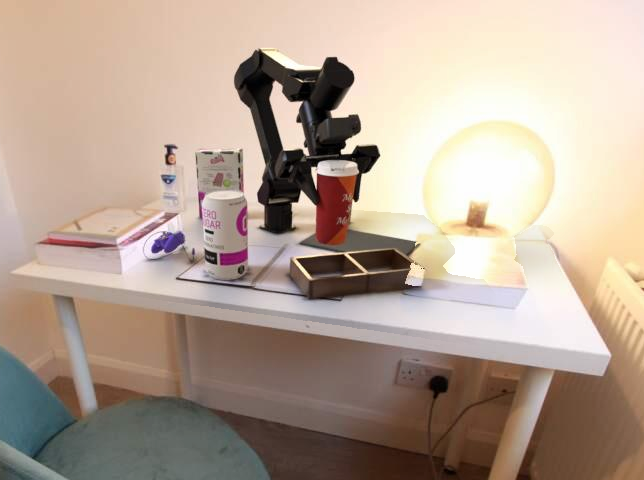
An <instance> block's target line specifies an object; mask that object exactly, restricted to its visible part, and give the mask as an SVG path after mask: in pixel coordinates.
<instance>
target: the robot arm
mask: <svg viewBox="0 0 644 480" xmlns="http://www.w3.org/2000/svg"><path fill="white" fill-rule="evenodd" d="M324 59H325V60H324V61H323V64H322V67H318V66H312V65H301V64H299V63H296V62H295V61H293V60H292V59H290V58H289V57H287V56H286V55H284V54H282V53H280V51H279V50H278V49H276V48H274V47H260V48H259V47H258V48H257V49H255V50H253V53H252V54H251V56H249V57H248V58H246V59H245V60H243V62H241V63H240V64H239V65H238V67H237V69H236V71H235V73H234V76H233V85H234V89H235V90H236V92H237V95H238V98H239V100H240V102H242V103H243V105H245V106H246V107H247V108H248V109H249V110H250V114H251V118H252V121H253V125H254V129H255V132H256V135H257V139H258V143H259V147H260V151H261V154H262V158H263V160H264V165H265V167H264V171H263V172H262V176H261V180H262V182H261V185H260V186H259V189H258V190H257V191H256V197H257V202H258V203H259V204H260V205H262V206H263V207H264V209H263V210H264V212H263V215H264V216H263V217H264V219H263V224H259V228H260V229H262V230H264V231H268V232H271V233H273V234H280V233H284V232H288V231H292V230H294V229H297V226H296V225H294V224H293V214H294V213H293V212H294V211H293V204H294V203H295V204H298V203H299V201H300V198H301V193H302V192H303V194H304V195H305V196H306V197H307V199H309V201H310V202H311V203H312V204H313V206H315V207H316V206H317V205H318V204H319V200H318V194H317V186H316V183H315V181H314V177H313V172H312V171H313V170H312V168H315V169H316V168H317V166H318V163H319V162H321V161H327V160H345V161H351V162H355V163H356V164H357V169H358V170H359V173H358V174H357V177H356V183H355V189H354V195H353V202H354V203H358V202H359V200H360V193H361V185H362V177H363V175H365V174H367V173H370V172H371V171H372V169H373V167H374V165H375V164H376V163H377V161H378V160H379V159H380V157H381V152H380V149H379V146H378V145H377V144H374V143H368V144H356V145H355V147H354V149H353V151H352V152H351V153H342V150H345V148H346V147H347V143H346V141H347V140H348V139H352V138H354V137H355V136H357V135H358V134H360V133H361V131H362V122H361V119H360V116H359V114H358V113H357V114H356V113H354V114H353V113H352V114H349V115H348V116H343V117H342V116H341V117H333V115H332V111H336V110H337V109H339V107H340V105H341V104H342V102H343V101H344V99H345V98H346V96H347V94H348V92H349V91H350V90H351V88H352V87H353V85H354V83H355V80H356V79H355V78H356V77H355V72H354V71H353V70H352V69H351V68H350V67H349V66H348V65H346V64H345V63H344V62H342V61H339V58H338V57H337V56H326V57H325V58H324ZM275 82H276V83H278V84H279V85H281V92H282V94H283V96H284V97H285V98H286V99H287V101H288V102H289V103H301V105H300V106H299V108H298V113H297V114H296V115H297V116H296V119H295V123H297V124H301V127H302V131H303V135H304V141H303V147H304V149H307V152H308V155H307V154H306V153H304V149H303V148H301V147H300V148H299V147H298V148H284V146H283V142H282V139H281V135H280V131H279V128H278V125H277V124H278V123H277V121H276V117H275V113H274V110H273V106H272V102H271V96H272V92H273V89H274V83H275Z"/></svg>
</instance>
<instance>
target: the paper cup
mask: <svg viewBox="0 0 644 480" xmlns="http://www.w3.org/2000/svg"><path fill="white" fill-rule="evenodd" d="M314 172H315V173H316V190H317V194H318V200H319V204H318V205H317V206H315V233H316V240H317V242H319V243H322V244H326V245H339V244H343V243H344V242H345V240H346V235H347V230H349V224H350V223H349V219H350V213H351V214H352V210H351V207H352V208H353V202H354V200H353V195H354V189H355V183H356V177H357V174H358V173H359V170H358V169H357V164H356V163H355V162H351V161H345V160H327V161H321V162H319V163H318V166H317V168H316V167H315V170H314Z"/></svg>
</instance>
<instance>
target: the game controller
mask: <svg viewBox="0 0 644 480" xmlns="http://www.w3.org/2000/svg"><path fill="white" fill-rule="evenodd" d="M158 233H161V234H160V236H158V237H157V238H156V239H154V240H153V241H154V242H153V244H152V245H151V248H150V251H151V253H152V254H158V253H160V252H164V253H165V254H167V255H164V256H161V257H158V258H154V259H152V258H148V256H146V254H145V245H146V243H147V241H149V239H150V238H151V237H152V236H155V235H156V234H158ZM186 241H187V240H186V235H185V234H184V233H183V232H182V230H177V231H175V232H172V231H170V232H169V231H166V230H163V231H156V232H155V233H153V234H151V235H150V236H149V237H148V238H147V239H146V241H145V242H144V245H143V248H142V250H143V255H144V256H145V258H146V259H147V260H149V261H156V260H160V259H164V258H166V257H168V256H170V255H172V254H174V253H177V252H179V251H182V250H184V253H185V254H186V256H187V258H188V259H189V261H190V262H191V263H193V262H194V257H195V254H196V250H195V247H192V250H191V255H192V260H191V258H190V256H189V255H188V253H187V250H186V249H185V248H184V247H185V242H186ZM180 246H181V247H182V248H181V249H178V248H179V247H180ZM176 249H177V250H176ZM175 250H176V251H175Z"/></svg>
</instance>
